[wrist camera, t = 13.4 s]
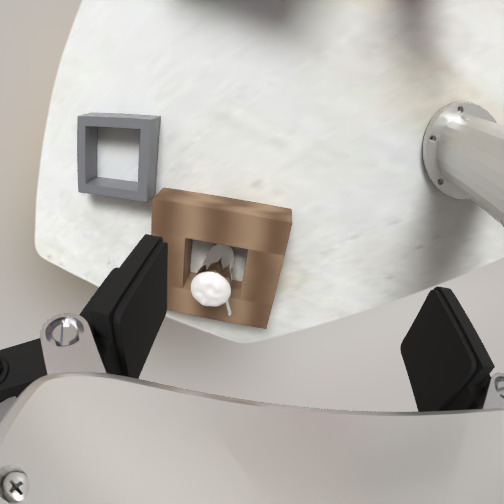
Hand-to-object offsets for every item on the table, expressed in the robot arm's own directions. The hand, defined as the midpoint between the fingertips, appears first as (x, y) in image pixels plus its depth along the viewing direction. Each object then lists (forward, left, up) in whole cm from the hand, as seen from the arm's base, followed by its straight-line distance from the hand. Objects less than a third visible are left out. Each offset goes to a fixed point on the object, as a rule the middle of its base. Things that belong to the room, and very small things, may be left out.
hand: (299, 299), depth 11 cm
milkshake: (+5, +16, -28) cm, 33 cm away
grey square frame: (+20, +4, -28) cm, 35 cm away
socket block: (+6, +16, -28) cm, 33 cm away
